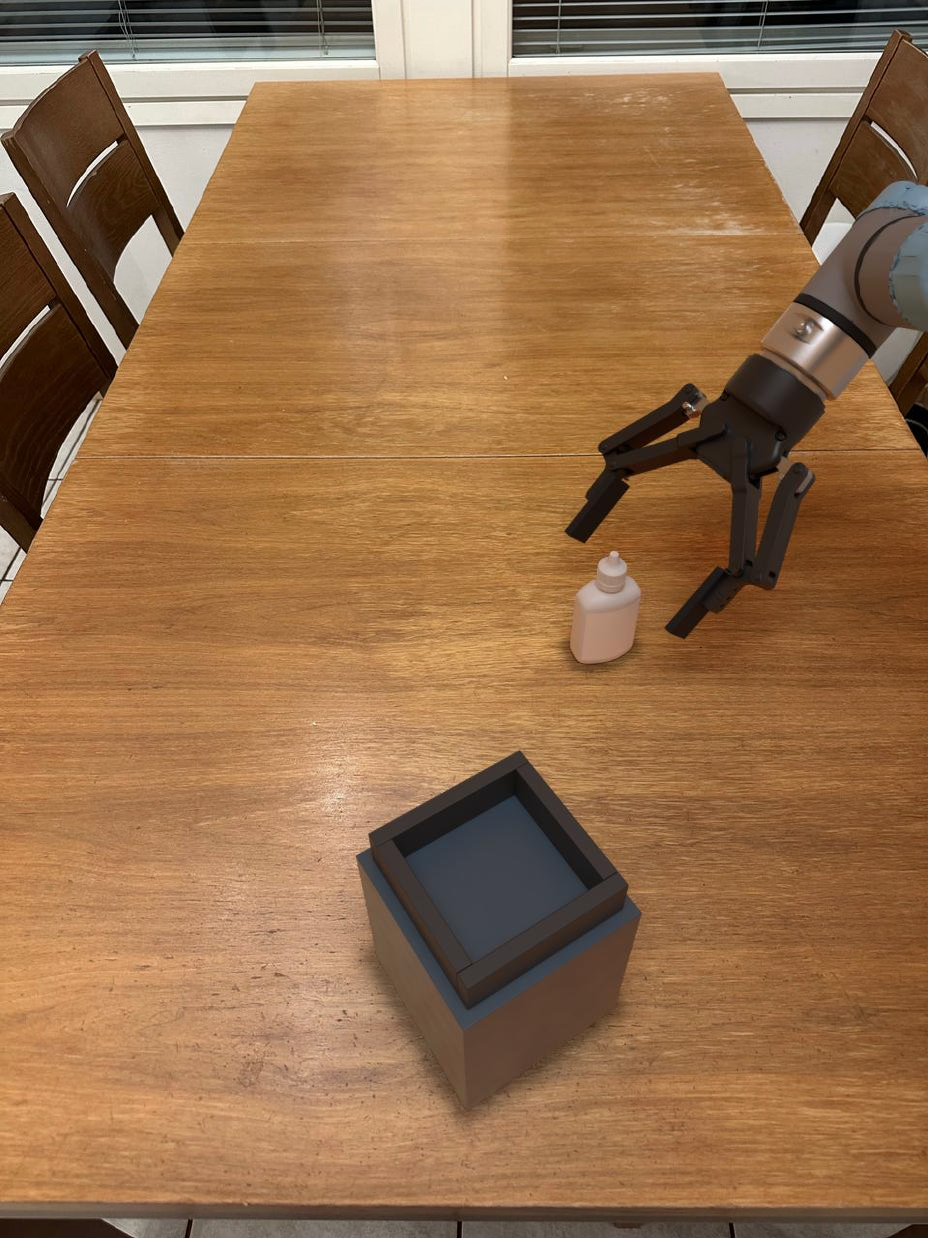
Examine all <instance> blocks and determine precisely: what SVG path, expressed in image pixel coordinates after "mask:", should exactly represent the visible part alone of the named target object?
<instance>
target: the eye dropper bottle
mask: <svg viewBox="0 0 928 1238" xmlns="http://www.w3.org/2000/svg"><path fill="white" fill-rule="evenodd" d="M627 573H628V565H627V562H625V560H624V559H622V558H621V557H620V553H619V552H618V551H616V550H612V551H610V553H609V555H608V556H605V557H603V558H602V559H600V560H599V561H598V564H597V569H596V575H595V576H596V577H595V578H593V579H592V580H591V581H589V582H587V583H585V584H584V586H582V587H581V588H580V589H579V590H578V591H577V593H576V594H575V597H574V599H575V600H574V605H573V613H572V620H571V621H572V622H571V629H570V631H571V632H570V641H569V648H570V651H571V653H572V655H573V656H574V659H576V661H577V662H578V663H581V664H586V665H588V664H589V665H590V664H591V665H593V664H594V665H595V664H603V663H607V662H611V661H614V660H616V659H618V658H620V657H622V656H623V655H625V654H626V653H628V652H629V651H630V650H631V649H632V647H633V645H634V641H635V634H636V630H637V624H638V617H639V612H640V606H641V599H642V590H641V588H640V586H639V584H638V583H637V581H636V580H635V579H634V578H633V577H631V576H628V574H627Z"/></svg>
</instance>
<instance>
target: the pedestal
mask: <svg viewBox="0 0 928 1238" xmlns="http://www.w3.org/2000/svg"><path fill="white" fill-rule="evenodd" d="M367 835H368V841H369V846H370V847H368V848H366V849H365V850H363V851H361V852H360V853H359V852H358V854H356V855H355V859H356V863H357V869H358V874H359V878H360V883H361V888H362V893H363V897H364V903H365V907H366V912H367V916H368V921H369V927H370V931H371V935H372V940H373V941H372V942H373V945H374V951H375V954H376V958H377V960H378V961H379V963H380V965H381V966H382V968H383V970H384V972H385V974H386V976H387V977H388V979H389V981H390V982H391V984H392V986H393V987H394V989H395V991H396V992H397V994H398V996H399V998H400V999H401V1001H402V1003H403V1005H404V1006H405V1008H406V1010H407V1012H408V1013H409V1015H410V1017H411V1018H412V1021H414V1024H415V1025H416V1027H417V1028H418V1030H419V1032H420V1034H421V1035H422V1038H423V1039H424V1041H425V1042H426V1044H427V1046H428V1047H429V1050H430V1051H431V1053H432V1054H433V1056H434V1057H435V1060H436V1061H437V1063H438V1065H439V1066H440V1068H441V1070H442V1071H443V1073H444V1074H445V1075H444V1076H445V1077H446V1078H447V1080H448V1082H449V1083H450V1085H451V1087H452V1089H453V1090H454V1092H455V1094H456V1095H457V1097H458V1099H459V1101H460V1102H461V1104H462V1106H463V1108H464V1110H465V1111H466V1112H469V1111H471V1110H472V1109H474V1107H476V1106H478V1105H479V1104H481V1103H482V1102H483V1101H485V1100H486V1099H488V1098H489V1097H491V1096H492V1095H494V1094H495V1093H496V1092H497V1091H499V1090H501V1089H502V1088H503V1087H505V1086H506V1085H508V1084H509V1083H511V1082H512V1081H513V1080H515V1079H516V1078H518V1077H519V1076H521V1075H522V1074H524V1073H525V1072H526V1071H528V1070H529V1069H531V1068H532V1067H534V1066H535V1065H536V1064H538V1063H540V1061H542V1060H543V1059H545V1058H547V1056H549V1055H551V1054H552V1053H553V1052H555V1051H556V1050H557V1049H559V1048H560V1047H562V1046H564V1045H565V1044H566V1043H568V1042H569V1041H571V1040H572V1039H574V1038H575V1037H576V1036H578V1035H579V1034H580V1033H582V1032H584V1031H585V1030H587V1029H588V1028H589V1027H590V1026H592V1025H594V1024H595V1023H597V1022H598V1021H599V1020H601V1019H603V1018H604V1017H605V1016H606V1015H608V1014H609V1013H610V1012H612V1011H613V1010H615V1009H616V1006H617V1002H618V999H619V996H620V992H621V987H622V985H623V980H624V977H625V974H626V971H627V967H628V964H629V960H630V956H631V954H632V950H633V946H634V942H635V939H636V935H637V932H638V928H639V926H640V921H641V919H642V915H643V912H642V911H641V910H640V909H639V907H638V906H637V905H636V903H635V902H634V901H633V900H632V898H631V897H630V896H629V895H628V890H629V887H630V886H629V885H630V884H629V883H628V882H627V881H626V880H625V878H624V877H623V875H622V874H621V873H620V872H619V871H618V869H617V868H616V866H615V865H614V864H613V863H612V862H611V860H610V859H609V858H608V857H607V855H606V854H605V853H604V852H603V851H602V850H601V848H600V847H599V846H598V844H597V843H596V842H595V840H593V838H592V837H591V836H590V835H589V833H588V832H587V831H586V830H585V828H584V827H583V826H582V824H580V822H579V821H578V820H577V818H576V817H575V816H574V815H573V814H572V812H571V811H570V810H569V808H568V807H567V806H566V805H565V804H564V803H563V801H562V800H561V798H559V796H558V795H557V794H556V793H555V791H554V790H553V789H552V788H551V786H550V785H549V784H548V783H547V782H546V780H545V779H544V778H543V777H542V775H541V774H540V773H539V771H538V770H537V769H536V768H535V767H534V766H533V764H532V763H531V762H530V761H529V759H528V758H527V757H526V756H525V754H524V753H523V752H522V751H521V749H518V750H517V751H515V752H513V753H511V754H509V755H508V756H506V757H504V758H502V759H501V760H499V761H497V762H495V763H493V764H491V765H490V766H487V767H486V768H484V769H483V770H480V771H479V772H476V773H475V774H473V775H472V776H470V777H468V778H466V779H464V780H463V781H461V782H459V783H457V784H455V785H454V786H451V787H450V788H447V789H446V790H444V791H443V792H441V793H439V794H437V795H436V796H435V795H434V797H431V798H430V799H428V800H426V801H425V802H423V803H421V804H419V805H417V806H416V807H414V808H412V809H409V810H408V811H406V812H405V813H402V814H401V815H399V816H397V817H396V818H394V819H392V820H390V821H389V822H387V823H385V824H382V825H381V826H379V827H377V828H376V829H374V830H372V831H370V832H368V833H367Z"/></svg>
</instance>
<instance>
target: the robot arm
mask: <svg viewBox="0 0 928 1238" xmlns="http://www.w3.org/2000/svg"><path fill="white" fill-rule="evenodd" d="M898 328H900V329H907V330H912V331H916V332H921V333H927V334H928V186H927V185H923V184H916V183H915V182H913V181H910V180H900V181H894V182H893V183H890V184H889V185H887V186H886V187H885V188H884V189H883V190H882V191H881V192H880V193H879V194H878V196H877V197H876V198H875V199H874V200H873V201H872V202H871V203H870V204H869V206H868V207H867V208H866V209H864V210H862V211H861V212H859V214H858V215H857V216H856V218H855V220H854V221H853V223H852V225H851V227H850V229H849V230H847V232H846V233H845V235H844V236H843V237H842V238H841V240H840V241H839V242H838V244H837V245H836V246H835V248H833V250H832V251H831V252H830V254H829V255H828V256H827V258H826V259H825V260H824V261H823V262H822V264H821V265H820V267H818V269H817V270H816V272H815V273H814V274H813V275H812V276H811V278H810V279H809V280H808V282H807V283H806V284H805V285H804V286H803V288H802V289H801V290H800V291H799V293H798V294H797V296H795V298H794V299H793V301H792V302H791V303H790V304H789V305H788V307H787V308H785V310H784V311H783V312H782V314H781V315H780V316H779V317H778V318H777V320H776V321H775V323H774V324H773V325H772V326H771V327H770V329H769V330H768V331H767V333H765V335H764V336H763V338H762V339H761V340H760V341H759V349H760V351H761V352H760V353H757V352H755V353H752V354H748V355H747V357H746V358H745V359H744V361H743V362H742V363H741V364H740V366H739V367H737V370H736V371H735V372H734V373H733V375H732V376H731V377H730V378H729V380H727V382H726V383H725V385H724V387H723V390H722V392H721V394H720V396H718V397H717V398H716V399H715V400H713V401H712V402H710V401H709V400H708V398H707V395H706V394H705V393H704V392H703V391H701V390H700V389H699V388H698V387H697V386H696V385H695V384H694V383H691V382H688V383H686V384H685V385H683V386H682V387H681V388H680V390H679V391H677V393H675V395H674V396H673V397H672V398H671V399H670V400H669V401H667V402H666V403H664V404H662V405H661V406H659V407H657V408H655V409H653V410H651V411H649V412H648V413H646V414H645V415H644V416H642V417H640V418H638V419H636V420H635V421H634V422H632V423H630V424H628V425H627V426H625V427H624V428H621V429H620V430H618V431H616V432H615V433H613V434H611V435H609V436H608V437H606V438H604V439H603V440H601V441H600V442H599V443H598V446H597V452H599V453H600V454H601V456H602V457H603V460H604V462H605V467H604V469H602V472H601V473H600V474H599V475H598V477H597V478H596V479H595V481H593V483H592V484H591V485H590V487H589V488H588V490H587V491H586V492H585V495H584V498H585V499H586V500H587V501H586V503H585V504H584V505H583V507H582V508H581V509H580V510H579V511H578V513H577V514H576V515H575V517H574V518H573V519H572V520H571V522H570V523H569V524H568V525H567V527H566V528H565V529H564V531H563V532H564V533H565V534H566V535H567V536H568V537H569V538H571V539H574V540H576V541H578V542H580V543H582V544H584V545H585V544H586V543H587V541H588V540H589V539H590V538H591V536H592V535H593V534H594V533H595V531H596V530H597V529H598V528H599V526H600V525H601V524H602V523H603V521H604V520H605V519H606V518H607V517H608V515H609V514H610V512H611V511H612V510H613V509H614V507H615V506H616V505H617V504H618V503H619V501H620V500H621V499H622V498H623V497H624V495H625V494H626V493H627V491H628V490H629V489H630V488H631V485H629V484H628V483H627V482H629V481H630V479H629V478H631V477H635V476H638V475H641V474H645V473H648V472H652V471H654V470H655V471H656V470H659V469H662V468H665V467H669V466H672V465H675V464H679V463H682V462H685V461H689V460H694V461H697V460H699V461H700V462H701V463H703V465H705V466H707V467H708V468H709V469H711V470H712V471H714V472H715V474H716V475H718V476H719V477H720V478H721V479H723V480H724V481H726V482H727V483H728V484H730V489H731V493H732V500H731V501H732V502H731V514H730V515H731V517H730V531H729V532H730V533H729V549H728V550H729V551H728V563H727V565H728V566H727V567H726V566H724V568H723V567H722V566H720V565H716V566H715V568H714V569H713V570H712V571H711V572H710V573H709V575H708V576H707V577H706V578H705V579H704V581H703V582H701V584H700V585H699V586H698V588H697V589H696V590H695V591H694V592H693V593H692V595H691V596H690V597H689V598H688V599H687V600H686V601H685V603H684V604H683V605H681V607H680V609H679V610H677V612H676V613H675V614H674V615H673V616H672V618H671V619H670V620H668V622H667V624H666V625H665V626H664V627H663V629H664V630H666V631H667V633H669V634H670V635H672V636H675V637H677V638H680V639H681V640H686V638H688V636H689V635H690V634H691V633H692V632H693V630H694V629H696V627H697V626H698V625H699V623H701V621H703V619H704V618H705V617H706V615H707V614H708V613H709V612H710V613H712V614H715V615H718V614H720V613H721V612H723V611H724V610H725V609H726V608H727V606H728V605H729V604H730V603H731V602H732V601H733V600H734V599H735V597H736V596H737V595H738V594H739V593H740V591H742V589H743V588H745V587H746V586H753V587H757V588H759V589H762V590H764V591H767V592H770V591H772V590H774V589H775V588H776V586H777V584H778V580H779V576H780V574H781V570H782V567H783V563H784V560H785V556H786V553H787V549H788V546H789V543H790V540H791V537H792V534H793V530H794V526H795V523H796V521H797V517H798V513H799V510H800V507H801V503H802V500H804V498H805V497H806V495H807V493H808V492H809V491H810V489H811V488H812V486H813V485H814V483H815V482H816V480H817V479H816V477H817V476H816V474H815V473H814V472H813V471H812V470H811V469H810V468H809V467H807V466H806V465H805V463H803V462H801V461H798V462H797V461H796V462H795V461H793V460H792V459H790V458H789V455H790V452H791V450H792V449H793V448H794V447H795V446H797V445H798V444H799V443H801V442H802V440H803V439H804V438H805V437H806V435H808V433H809V432H810V431H811V430H812V429H813V427H814V426H815V425H816V424H817V423H818V421H820V419H821V418H822V417H823V415H824V414H825V413H826V410H825V409H826V404H825V403H824V402H825V401H829V402H832V401H836V400H837V399H838V398H839V397H840V396H841V394H843V392H845V390H846V389H847V387H849V385H850V384H851V382H852V381H853V380H854V379H855V378H856V377H857V375H858V374H859V372H860V371H861V370H862V369H863V368H864V366H865V365H866V364H867V363H868V361H869V360H871V359H872V357H874V356H875V354H876V352H877V351H878V350H879V349H880V348H881V346H882V345H884V344H885V342H886V341H887V340H888V339H889V338H890V336H891V335H892V334H893V333H894V332H895V331H896V330H897V329H898ZM697 418H699V424H698V427H694V428H691V429H689V430H688V429H687V430H685V431H681V432H679V433H677V434H676V436H675V437H672V438H669V439H664V440H662V441H658V442H655V441H656V440H659V439H660V438H662V437H663V436H666V435H667V434H669V433H670V432H672V431H674V430H675V429H678V428H679V427H681V426H683V425H684V424H686V423H687V422H689V421H690V420H691V419H697ZM653 442H655V443H653ZM651 443H653V444H651ZM776 473H778V475H777V477H776V478H777V479H776V482H777V483H776V484H778V485H777V488H776V489H775V492H774V495H773V498H772V501H771V505H770V508H769V511H768V513H767V514H768V515H767V518H766V521H765V525H764V527H763V531H762V534H761V538H760V541H759V545H758V548H757V542H758V541H757V539H758V523H759V506H760V505H759V504H760V501H761V500H762V496H763V495H762V493H763V479H764V477H767V476H769V475H772V474H776ZM626 481H627V482H626Z"/></svg>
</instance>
